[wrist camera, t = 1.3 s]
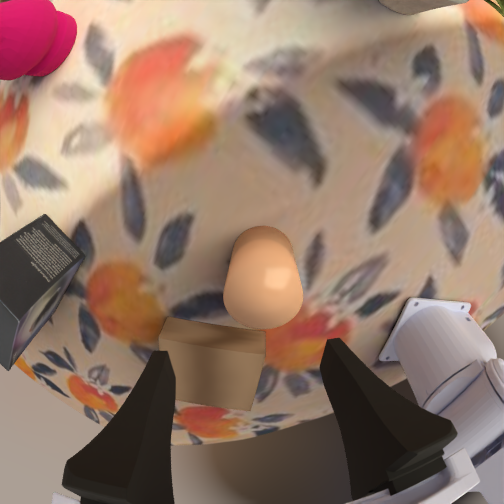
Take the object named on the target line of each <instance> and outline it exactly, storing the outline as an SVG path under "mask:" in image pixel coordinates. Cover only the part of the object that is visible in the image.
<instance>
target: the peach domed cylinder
mask: <svg viewBox="0 0 504 504" xmlns="http://www.w3.org/2000/svg"><path fill="white" fill-rule="evenodd" d="M223 299H224V304H225V307H226V309H227V311H228V313H229V314H230V315H231V316H232V317H233V318H234V319H235V320H236V321H237V322H239V323H241V324H242V325H245V326H247V327H250V328H255V329H271V328H276V327H279V326H281V325H283V324H285V323H287V322H289V321H290V320H291V319H292V318H293V317H294V316H295V315H296V314H297V313H298V311H299V310H300V308H301V305H302V301H303V290H302V286H301V282H300V277H299V273H298V269H297V265H296V261H295V257H294V253H293V249H292V245H291V243H290V241H289V239H288V238H287V236H286V235H285V234H284V233H282V232H281V231H279V230H278V229H276V228H273V227H269V226H257V227H253V228H250V229H248V230H246V231H245V232H243V233H242V234H241V235H240V236H239V237H238V239H237V240H236V242H235V244H234V247H233V252H232V256H231V261H230V265H229V270H228V274H227V279H226V283H225V288H224V293H223Z"/></svg>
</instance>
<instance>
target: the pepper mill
mask: <svg viewBox="0 0 504 504" xmlns="http://www.w3.org/2000/svg"><path fill="white" fill-rule="evenodd" d="M76 34H77V25H76V22H75V19H74V18H73V17H72V16H70V15H68V14H65V13H63V12H60V11H56V9H55V7H54V5H53V3H51V2H50V1H49V0H12V1H8V2H4V3H0V80H14V79H16V78H19V77H21V76H23V75H24V74H25V75H29V76H45V75H47V74H49V73H51V72H53V71H54V70H55V69H56V68H58V67H59V66H60V64H61V63H62V62H63V61H64V60H65V58H66V57H67V55H68V54H69V53H70V51H71V48H72V46H73V44H74V42H75V38H76Z"/></svg>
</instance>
